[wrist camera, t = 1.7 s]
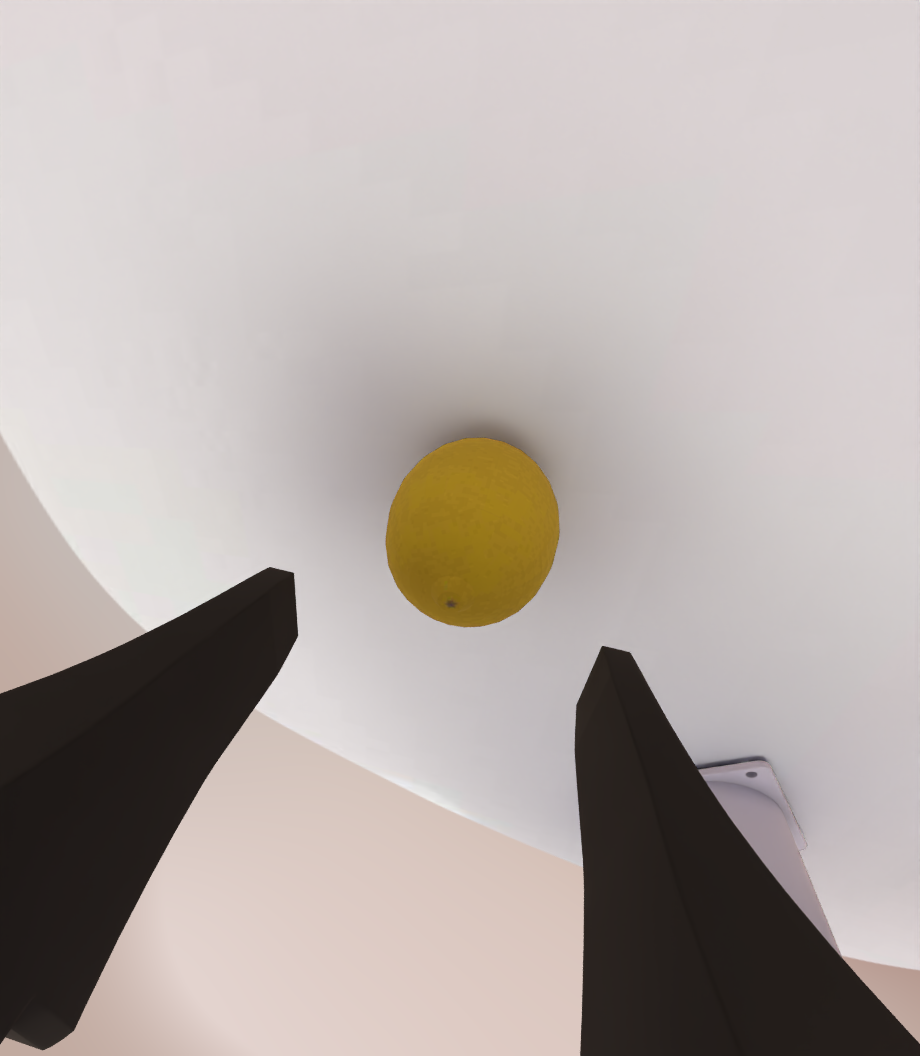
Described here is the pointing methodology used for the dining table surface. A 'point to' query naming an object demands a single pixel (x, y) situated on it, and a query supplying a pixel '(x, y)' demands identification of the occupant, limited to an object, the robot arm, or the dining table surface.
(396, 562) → the lemon
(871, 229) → the dining table surface
